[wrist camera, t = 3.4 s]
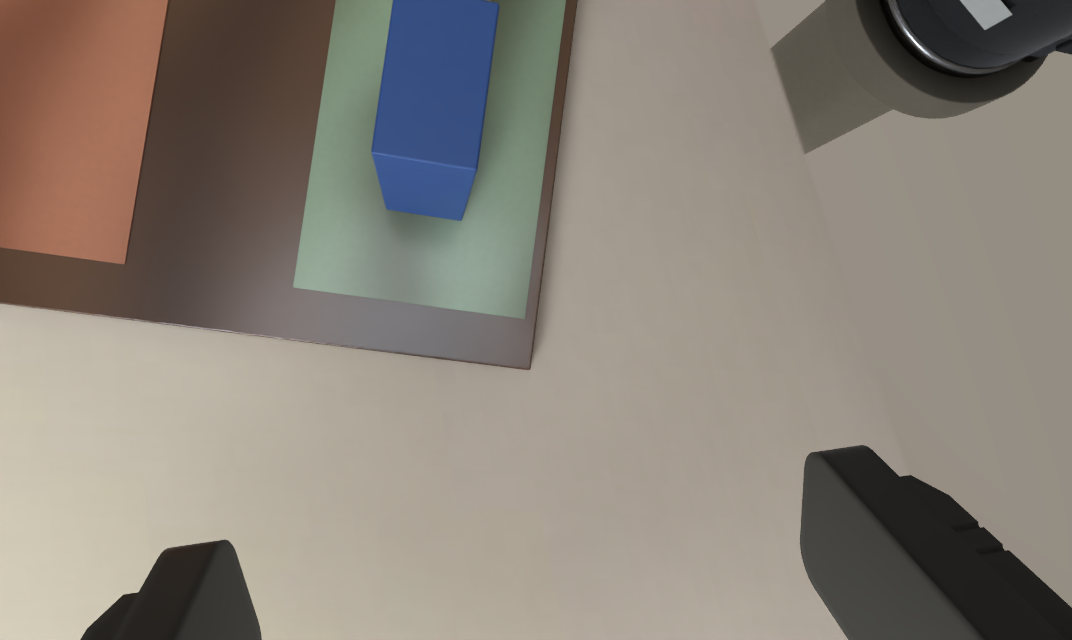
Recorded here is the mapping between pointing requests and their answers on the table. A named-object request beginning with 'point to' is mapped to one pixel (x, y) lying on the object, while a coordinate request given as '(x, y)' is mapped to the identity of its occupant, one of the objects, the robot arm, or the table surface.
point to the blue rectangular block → (433, 104)
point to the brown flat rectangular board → (266, 175)
